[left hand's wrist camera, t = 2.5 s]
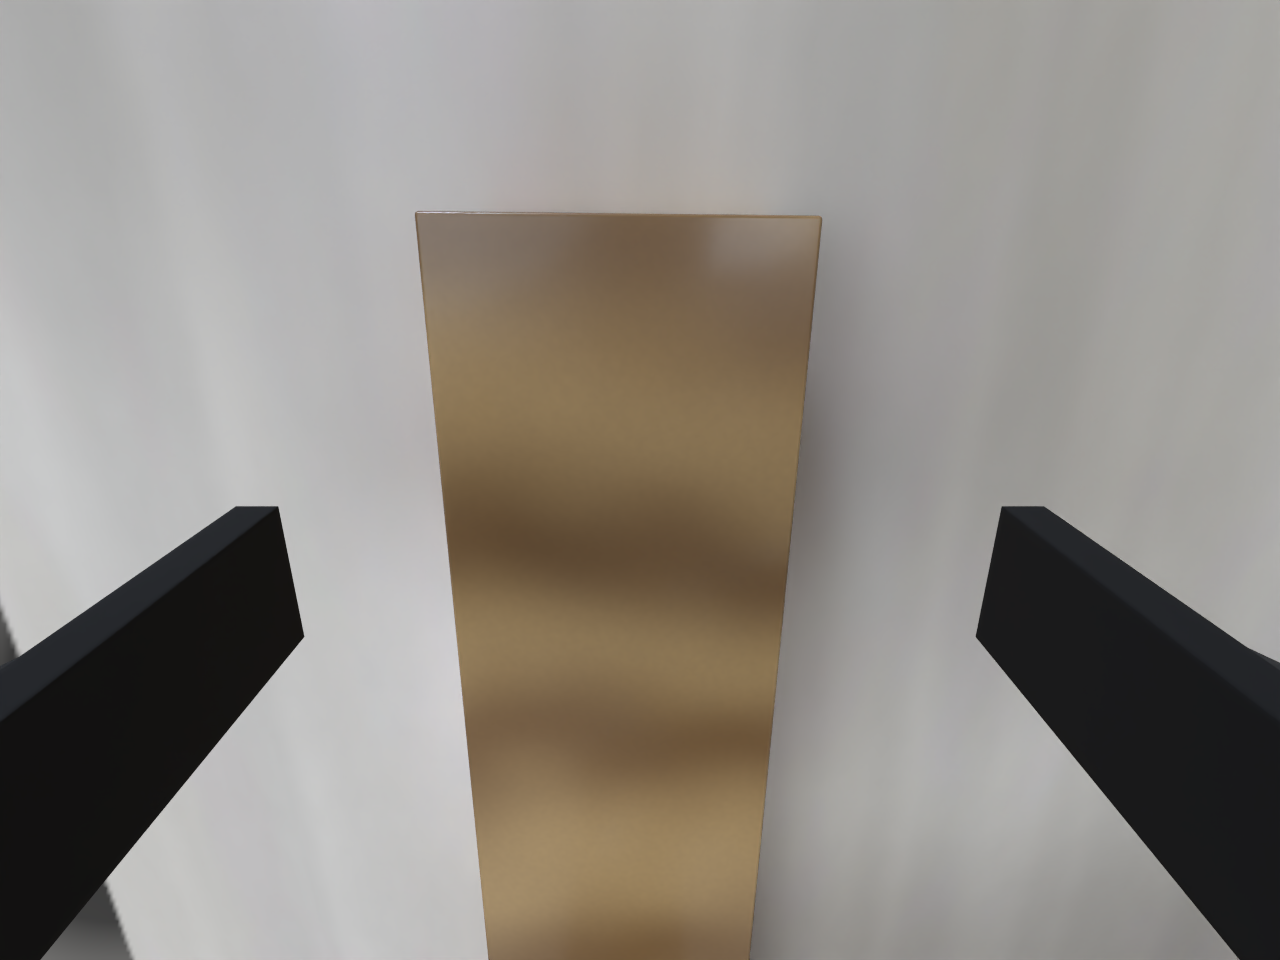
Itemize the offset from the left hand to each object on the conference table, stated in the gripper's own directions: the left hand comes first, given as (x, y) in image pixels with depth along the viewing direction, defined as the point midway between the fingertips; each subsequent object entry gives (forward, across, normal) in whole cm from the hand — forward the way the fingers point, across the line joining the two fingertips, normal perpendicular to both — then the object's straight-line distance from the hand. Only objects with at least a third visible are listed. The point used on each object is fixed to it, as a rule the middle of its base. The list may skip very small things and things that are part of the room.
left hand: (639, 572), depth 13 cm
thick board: (+13, -1, -19) cm, 23 cm away
